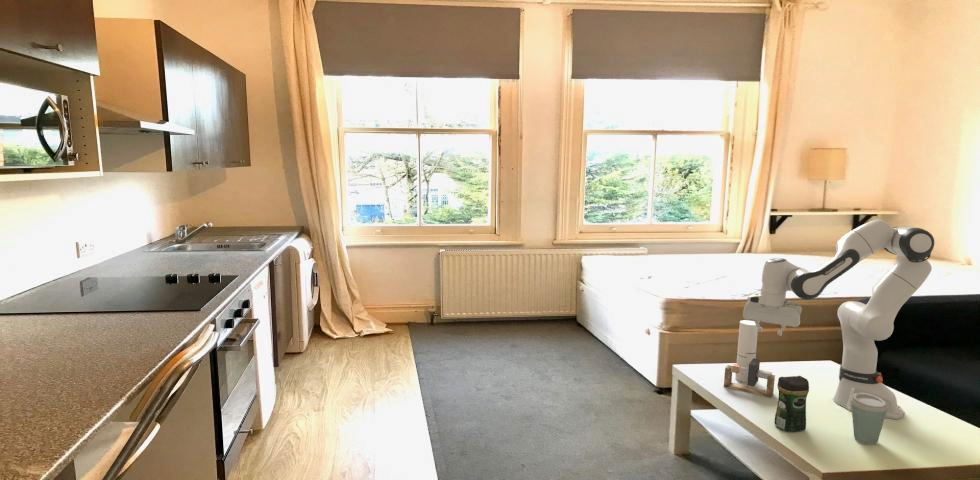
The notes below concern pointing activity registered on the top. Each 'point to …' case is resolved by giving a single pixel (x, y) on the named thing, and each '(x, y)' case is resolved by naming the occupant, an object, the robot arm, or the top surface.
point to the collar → (753, 372)
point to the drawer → (767, 392)
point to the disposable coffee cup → (867, 417)
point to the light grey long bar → (744, 370)
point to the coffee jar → (792, 403)
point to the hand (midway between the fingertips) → (769, 333)
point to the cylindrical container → (746, 346)
